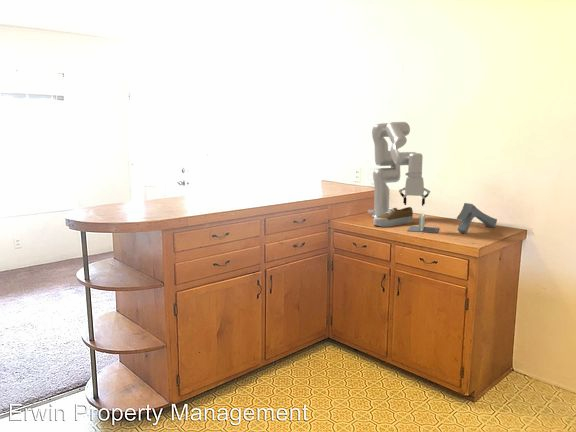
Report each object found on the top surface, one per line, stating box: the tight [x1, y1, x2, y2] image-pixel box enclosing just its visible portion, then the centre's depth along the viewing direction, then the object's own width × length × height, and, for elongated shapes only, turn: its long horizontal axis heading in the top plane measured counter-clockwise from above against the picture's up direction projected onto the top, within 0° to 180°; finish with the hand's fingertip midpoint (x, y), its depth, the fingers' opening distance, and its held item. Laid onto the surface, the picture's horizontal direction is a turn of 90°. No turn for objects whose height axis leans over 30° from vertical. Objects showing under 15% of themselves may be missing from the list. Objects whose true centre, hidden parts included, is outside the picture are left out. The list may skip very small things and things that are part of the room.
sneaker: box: [372, 206, 414, 228], centre depth 297 cm, size 10×29×10 cm, turn 118°
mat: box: [407, 225, 439, 234], centre depth 280 cm, size 16×13×1 cm
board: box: [418, 212, 426, 231], centre depth 279 cm, size 2×12×8 cm, turn 159°
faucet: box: [456, 202, 498, 235], centre depth 275 cm, size 6×17×30 cm
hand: (413, 205), depth 279 cm, fingers open, 9 cm apart
